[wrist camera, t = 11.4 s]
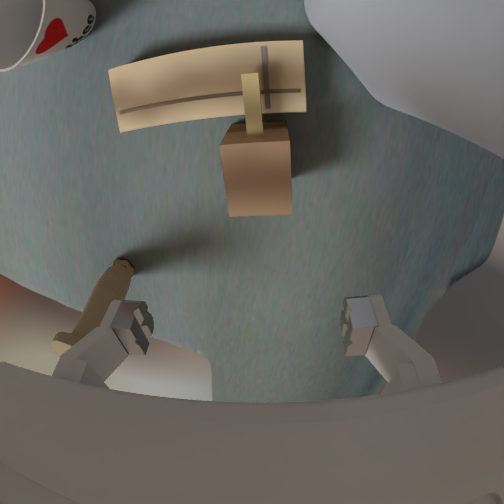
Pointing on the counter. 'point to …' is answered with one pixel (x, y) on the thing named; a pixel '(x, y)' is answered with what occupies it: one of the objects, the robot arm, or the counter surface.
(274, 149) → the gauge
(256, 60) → the board
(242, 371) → the counter surface
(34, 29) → the cup
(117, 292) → the handle
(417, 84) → the plastic bottle
